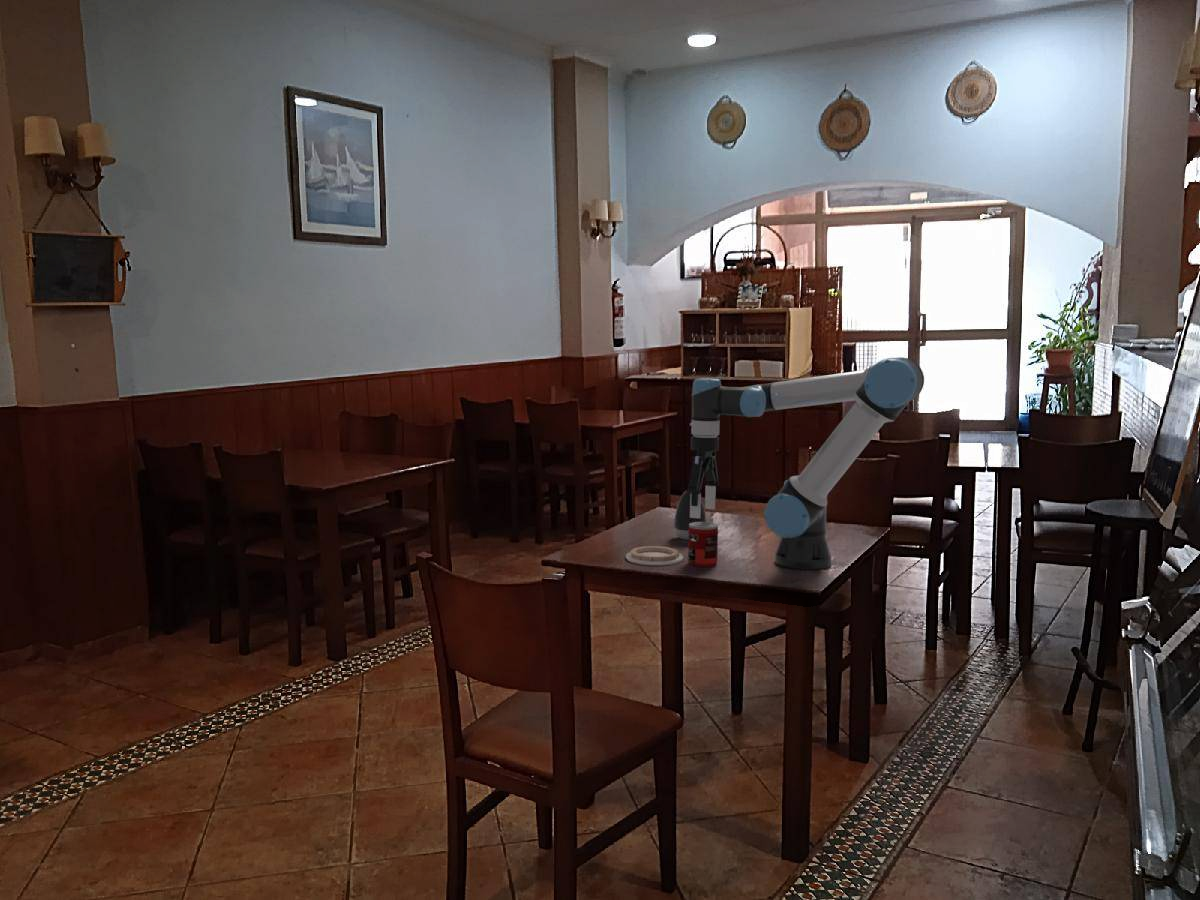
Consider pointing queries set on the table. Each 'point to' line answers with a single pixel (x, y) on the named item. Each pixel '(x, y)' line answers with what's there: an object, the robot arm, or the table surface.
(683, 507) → the dark grey rounded dome
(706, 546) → the canned food
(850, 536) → the table surface
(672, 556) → the dish
